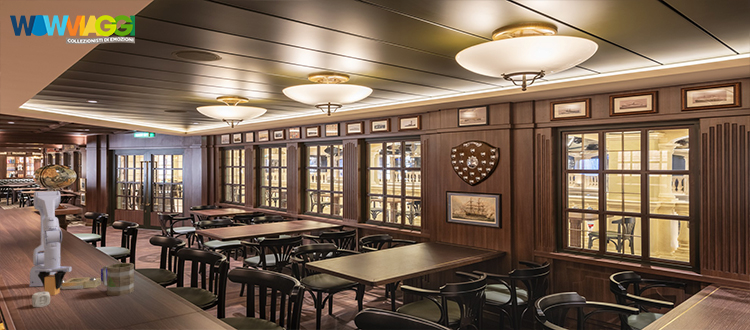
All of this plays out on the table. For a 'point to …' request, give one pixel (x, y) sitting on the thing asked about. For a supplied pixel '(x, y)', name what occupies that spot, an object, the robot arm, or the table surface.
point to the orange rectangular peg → (51, 285)
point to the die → (40, 299)
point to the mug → (119, 279)
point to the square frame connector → (80, 283)
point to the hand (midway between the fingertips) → (52, 288)
